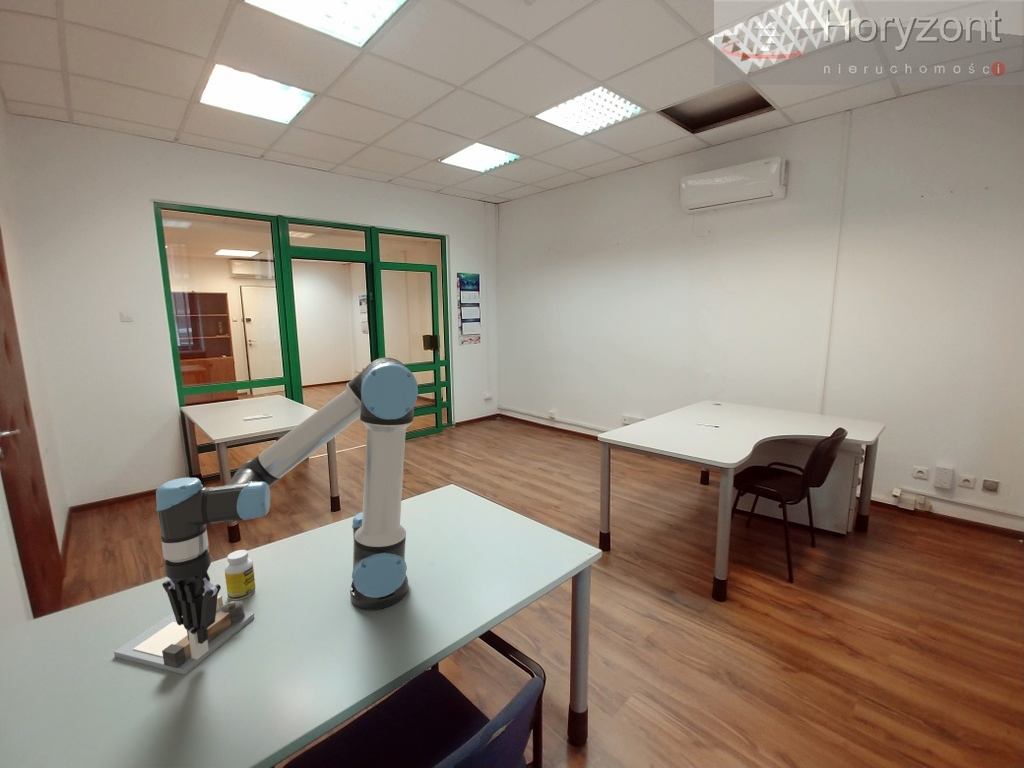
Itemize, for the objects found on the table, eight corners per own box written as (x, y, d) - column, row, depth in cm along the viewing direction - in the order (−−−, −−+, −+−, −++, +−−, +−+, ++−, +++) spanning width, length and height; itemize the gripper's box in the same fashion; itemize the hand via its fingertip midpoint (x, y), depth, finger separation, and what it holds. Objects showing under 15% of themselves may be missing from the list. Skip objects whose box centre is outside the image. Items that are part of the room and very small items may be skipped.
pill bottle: (242, 603, 115) (238, 562, 113) (221, 599, 117) (217, 559, 115) (261, 587, 122) (257, 549, 120) (241, 585, 123) (237, 546, 121)
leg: (234, 610, 110) (232, 595, 109) (248, 613, 109) (246, 598, 108) (162, 664, 93) (159, 647, 92) (178, 668, 92) (176, 651, 91)
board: (254, 617, 110) (252, 601, 109) (184, 674, 92) (182, 656, 92) (191, 604, 115) (189, 589, 114) (114, 656, 97) (111, 638, 97)
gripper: (228, 547, 93) (239, 646, 96) (180, 540, 96) (192, 636, 100) (194, 567, 85) (208, 673, 89) (144, 558, 89) (159, 661, 92)
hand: (200, 653), depth 94 cm, fingers closed
